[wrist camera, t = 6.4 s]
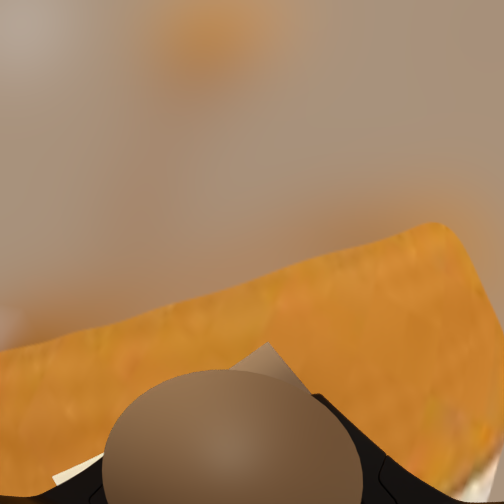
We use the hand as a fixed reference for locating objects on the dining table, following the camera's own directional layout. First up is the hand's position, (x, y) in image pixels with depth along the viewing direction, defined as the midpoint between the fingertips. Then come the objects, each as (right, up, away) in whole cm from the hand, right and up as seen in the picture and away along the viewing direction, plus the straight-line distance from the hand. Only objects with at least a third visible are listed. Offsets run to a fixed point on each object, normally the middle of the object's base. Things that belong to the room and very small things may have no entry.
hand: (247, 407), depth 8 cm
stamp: (0, -4, +4) cm, 6 cm away
